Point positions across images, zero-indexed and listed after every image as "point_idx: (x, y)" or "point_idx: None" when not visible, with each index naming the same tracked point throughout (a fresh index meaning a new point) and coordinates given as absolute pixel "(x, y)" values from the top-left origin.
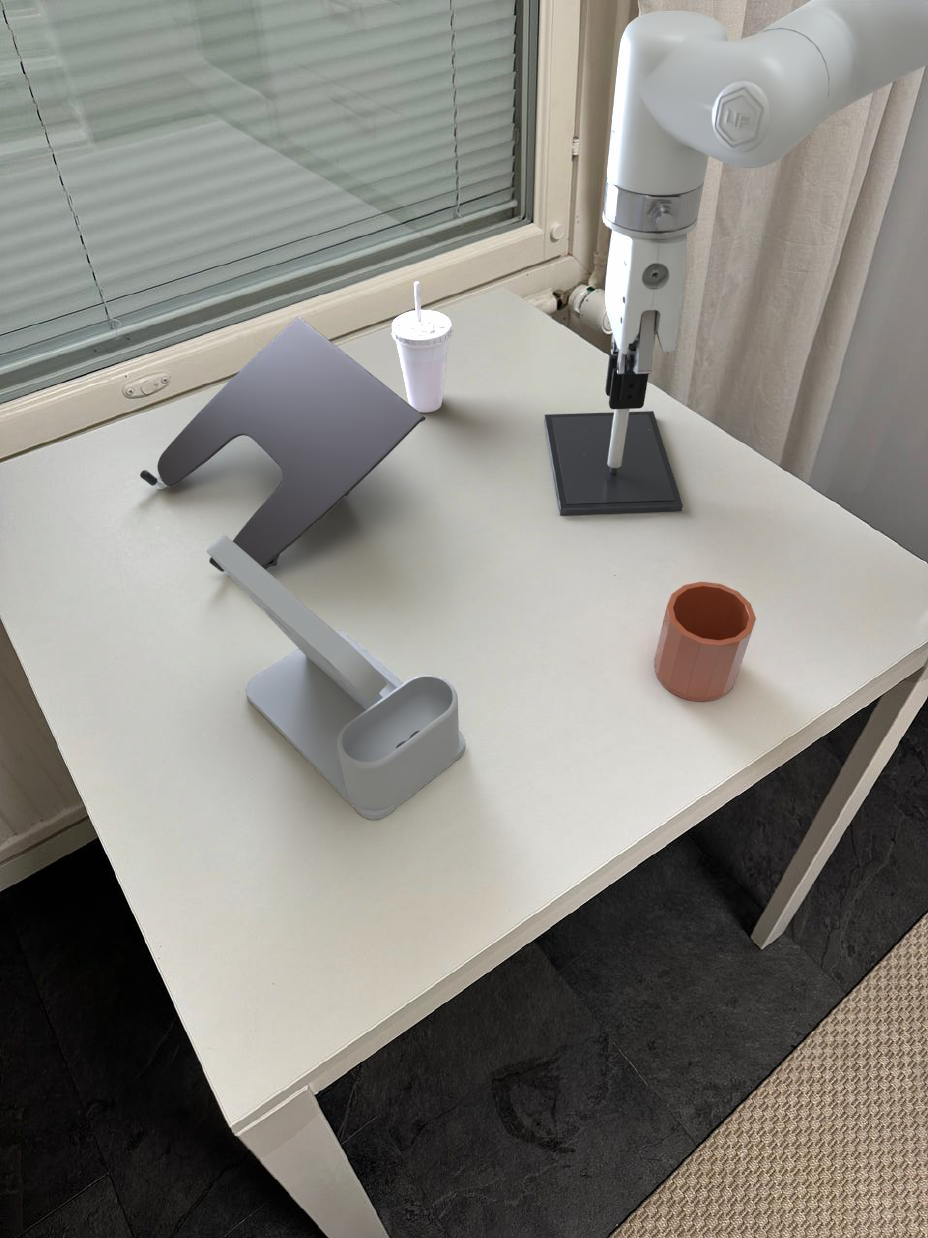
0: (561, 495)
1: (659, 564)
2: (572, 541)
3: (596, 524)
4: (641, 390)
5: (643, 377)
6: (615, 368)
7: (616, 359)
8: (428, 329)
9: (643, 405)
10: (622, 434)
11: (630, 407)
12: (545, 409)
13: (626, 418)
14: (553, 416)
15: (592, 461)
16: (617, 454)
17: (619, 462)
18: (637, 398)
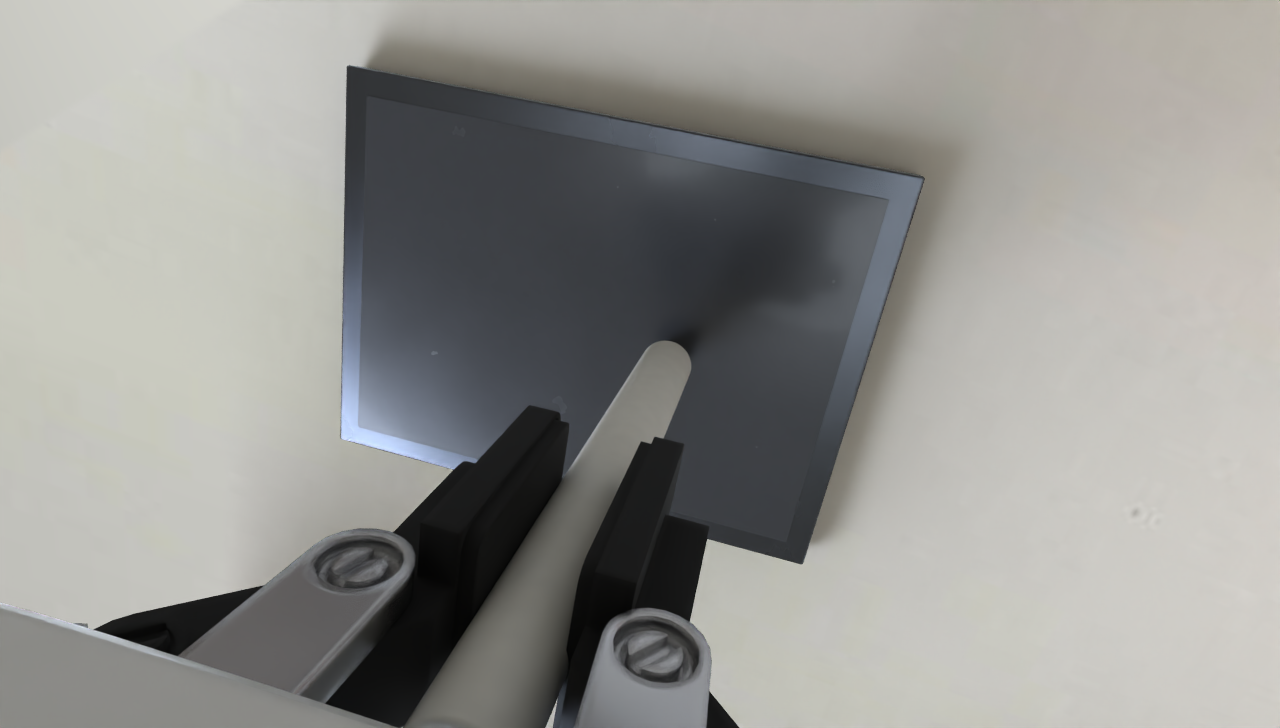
0: (741, 540)
1: (1155, 364)
2: (928, 561)
3: (878, 471)
4: (661, 517)
5: (643, 575)
6: None
7: None
8: None
9: (683, 444)
10: (667, 421)
11: (672, 500)
12: (300, 405)
13: None
14: (352, 417)
15: (599, 392)
16: (682, 391)
17: (688, 366)
18: (705, 540)
